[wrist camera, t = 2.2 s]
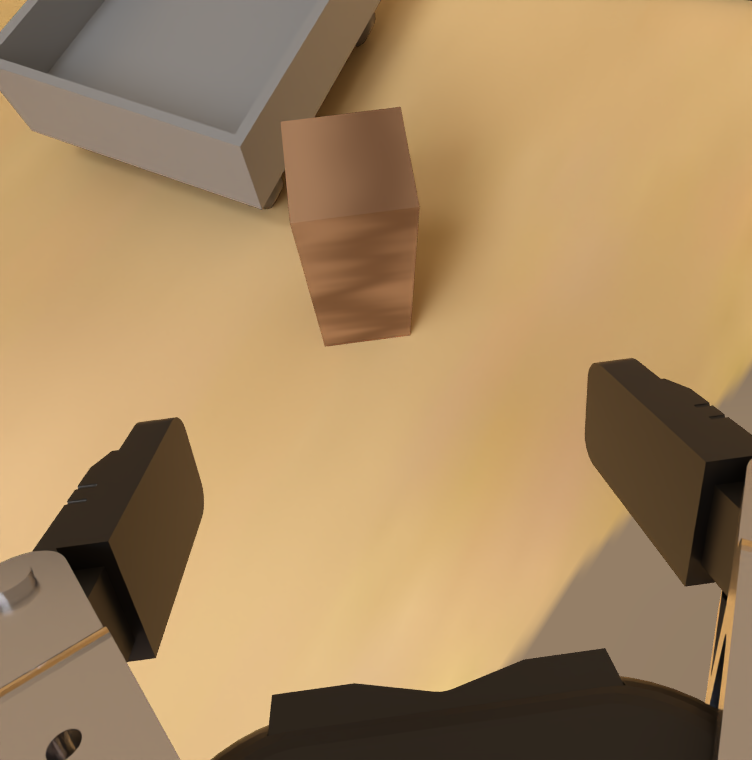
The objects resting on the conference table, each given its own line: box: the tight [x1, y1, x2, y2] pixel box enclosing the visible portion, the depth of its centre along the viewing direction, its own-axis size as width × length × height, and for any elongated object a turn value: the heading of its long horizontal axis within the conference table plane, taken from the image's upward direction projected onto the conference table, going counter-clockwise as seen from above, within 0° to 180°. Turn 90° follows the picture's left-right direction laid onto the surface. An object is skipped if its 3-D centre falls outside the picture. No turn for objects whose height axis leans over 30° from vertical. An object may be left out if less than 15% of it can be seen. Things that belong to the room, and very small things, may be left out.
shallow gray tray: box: [0, 0, 381, 210], centre depth 36 cm, size 16×20×8 cm
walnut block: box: [281, 107, 419, 346], centre depth 28 cm, size 5×5×12 cm
